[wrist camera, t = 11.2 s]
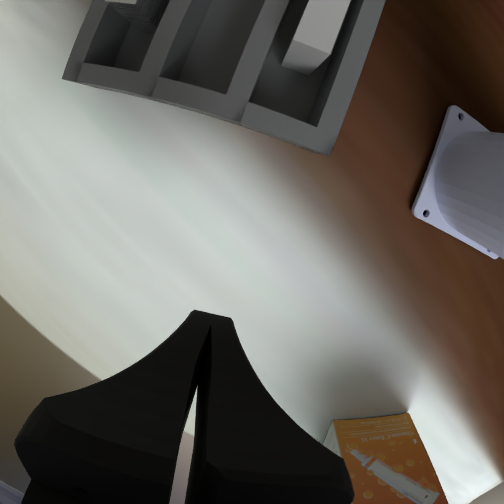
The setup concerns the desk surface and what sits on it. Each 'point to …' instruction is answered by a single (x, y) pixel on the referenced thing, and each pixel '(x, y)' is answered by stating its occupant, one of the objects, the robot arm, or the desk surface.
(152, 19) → the panel
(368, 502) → the small box
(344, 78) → the rack
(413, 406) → the desk surface
